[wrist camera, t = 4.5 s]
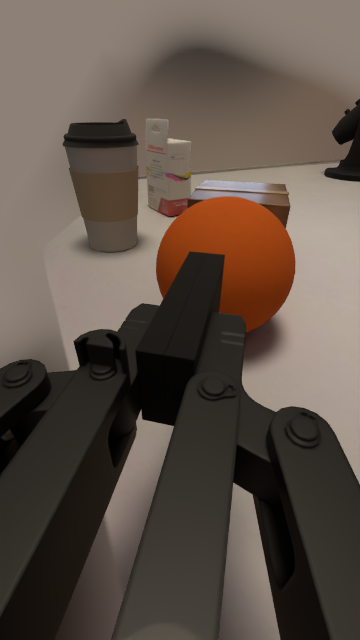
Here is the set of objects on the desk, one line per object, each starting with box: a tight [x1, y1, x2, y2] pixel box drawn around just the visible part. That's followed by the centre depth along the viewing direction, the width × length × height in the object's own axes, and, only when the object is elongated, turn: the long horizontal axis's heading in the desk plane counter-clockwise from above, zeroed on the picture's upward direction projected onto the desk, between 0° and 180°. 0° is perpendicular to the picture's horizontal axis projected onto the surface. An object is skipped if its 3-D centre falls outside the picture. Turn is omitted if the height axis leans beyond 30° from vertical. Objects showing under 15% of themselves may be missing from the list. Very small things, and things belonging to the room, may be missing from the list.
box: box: [187, 180, 290, 229], centre depth 39 cm, size 11×11×8 cm
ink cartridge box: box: [145, 118, 192, 216], centre depth 54 cm, size 9×5×15 cm, turn 32°
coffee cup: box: [63, 119, 138, 252], centre depth 39 cm, size 9×9×15 cm
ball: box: [156, 196, 295, 332], centre depth 25 cm, size 11×11×11 cm
